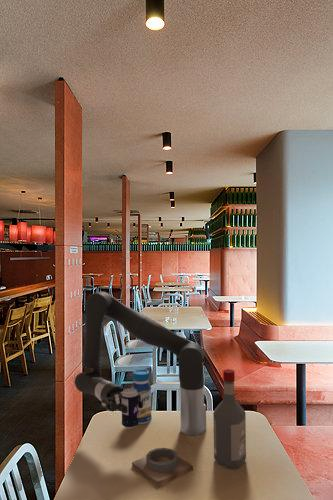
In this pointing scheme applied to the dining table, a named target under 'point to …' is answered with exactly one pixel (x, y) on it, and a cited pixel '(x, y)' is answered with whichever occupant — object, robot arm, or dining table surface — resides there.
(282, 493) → the dining table surface
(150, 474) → the base plate
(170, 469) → the collar
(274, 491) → the dining table surface
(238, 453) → the liquor
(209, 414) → the dining table surface
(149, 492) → the dining table surface
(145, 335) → the robot arm
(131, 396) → the beverage can
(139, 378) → the beverage bottle
